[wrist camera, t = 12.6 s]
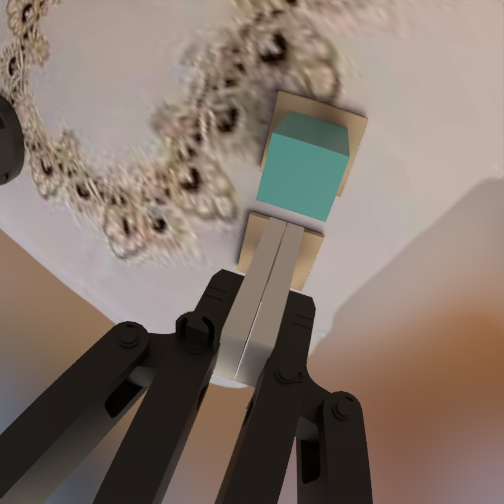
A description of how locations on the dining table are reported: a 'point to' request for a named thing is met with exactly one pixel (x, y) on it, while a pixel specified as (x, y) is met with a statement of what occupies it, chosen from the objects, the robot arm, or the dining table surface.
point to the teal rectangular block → (304, 165)
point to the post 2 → (305, 256)
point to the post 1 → (322, 112)
